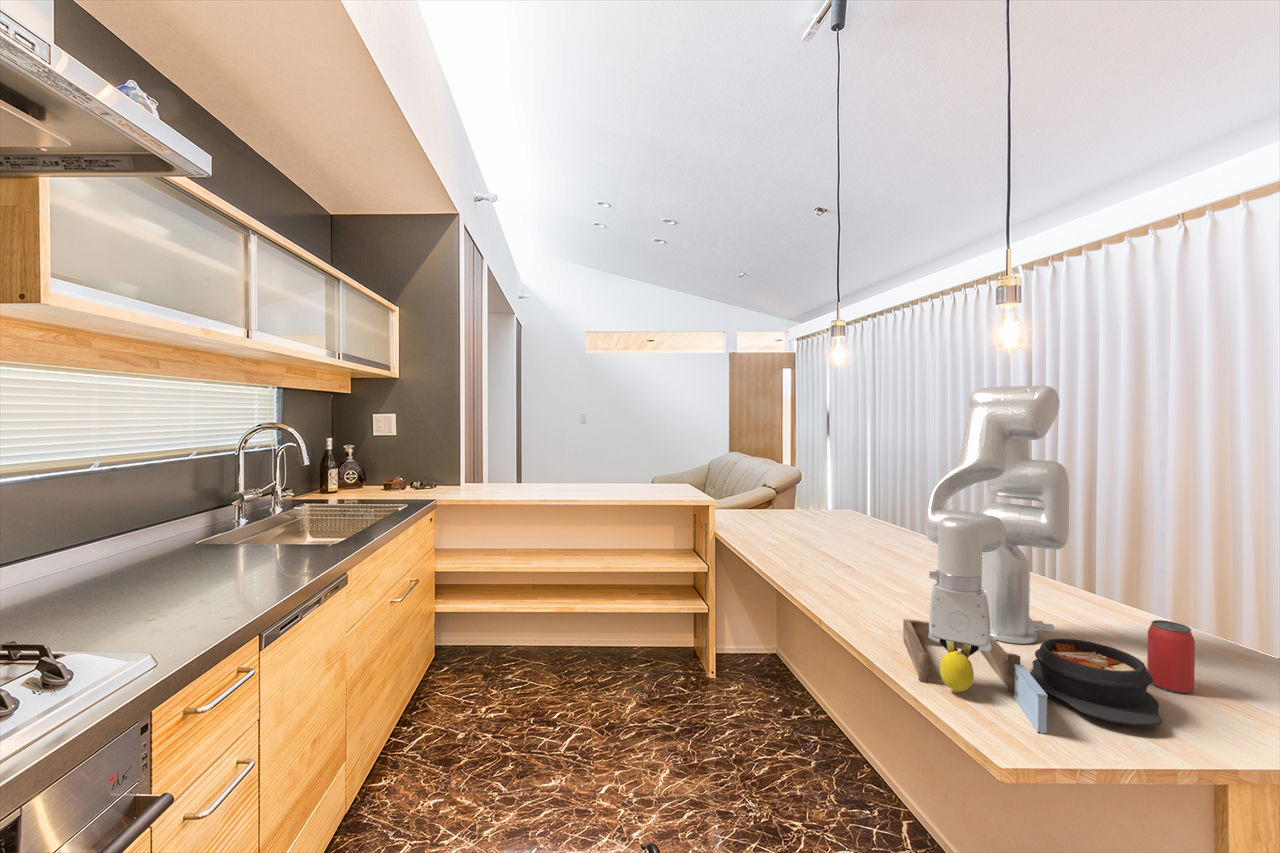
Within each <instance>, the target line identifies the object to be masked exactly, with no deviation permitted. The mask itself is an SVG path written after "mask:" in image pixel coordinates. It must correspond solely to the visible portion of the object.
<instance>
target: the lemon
mask: <svg viewBox="0 0 1280 853" xmlns="http://www.w3.org/2000/svg"><path fill="white" fill-rule="evenodd" d="M960 652H961V651H959V650H958V651H954V652H949V653H948V652H947V653H946V654H944V655H943V656H942V659H941V661H940V665H939V666H940V667H939V673H940V676H941V680H942V681H943V683H944V684H945V685H946V686H947V687H948V688H949V689H950V690H953V692H954V693H959V692H963V691H967V690H969V688H971V687H972V685H973V682H974V677H975V673H974V669H973V665H972V662H971V660H970V659H969V657H968V658H967V657H966V656H965V655H963V654H961V653H960Z"/></svg>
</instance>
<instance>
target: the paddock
mask: <svg viewBox="0 0 1280 853" xmlns="http://www.w3.org/2000/svg"><path fill="white" fill-rule="evenodd" d="M902 622H903V627H902V628H903V632H902V633H903V636H902V637H903V638H902V639H903V640H902V641H903V643H904V646H905V647H906V650H907V653H908V655H909V657H910V659H911V662H912V665H913V667H914V669H915V672H916V675H917V677H918V681H919V682H921V683H926V684H927V683H928V682H929V653H928V652H926V651H925V650H924V647H923V646H922V645H927V646H937V647H943V648H945V647H944V646H943V645H942V644H941V643H939V642H936V641H934V640H932V639H930V638H929V637H928V634H929V620H928V621H927V620H925V621H924V620H919V619H918V620H916V619H907V618H906V619H905V618H903V621H902ZM990 642H991V646H992V647H991V650H990V651H980V653H981V654H982V656H983V657H984V658H985V660H986V661H987V663H988V664H989V665H990V667H991V668H992V669H993V671H994V672H995V673H996V675H997V676H998V678H999V679H1000V680H1001V682H1002V683H1003V684H1004V686H1005V687H1006V688H1007V690H1006V692H1007V693H1008V694H1011V695H1014V696H1015V693H1014V688H1015V677H1014V672H1015V667H1014V664H1018V665H1021V656H1020V655H1018V654H1015V653H1006V651H1005V650H1004V649H1003V648H1002V646H1001V645H1000V644H999V643H998V640H995V639H994V638H993V637H992V635H991V634H990ZM955 644H956V648H957V649H960V650H962V649H963V646H964V644H963V643H958V642H955Z"/></svg>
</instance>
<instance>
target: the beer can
mask: <svg viewBox="0 0 1280 853" xmlns="http://www.w3.org/2000/svg"><path fill="white" fill-rule="evenodd" d="M1195 641H1196V640H1195V638H1194V636H1193V633H1192V628H1190V627H1189V626H1188V625H1185V624H1182V623H1179V622H1174V621H1169V620H1163V619H1159V620H1158V619H1156V620H1154V619H1153V620H1152V621H1151V624H1150V626H1149V628H1148V630H1147V659H1146V660H1147V661H1146V662H1147V667H1146V669H1147V672H1148V673H1149V674H1150V675H1151V676H1152V678H1153V683H1152V684H1151V685H1153V686H1156V687H1157V688H1159V687H1160V688H1159V689H1161V690H1164V689H1166V690H1165V691H1168V690H1169V691H1168V692H1172V691H1173V693H1177V692H1179V693H1178V694H1190V693H1192V692H1193V691H1195V672H1196V671H1195V668H1196V667H1195V664H1196V662H1195V659H1196V658H1195V657H1196V651H1195V650H1196V642H1195Z"/></svg>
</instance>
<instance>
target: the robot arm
mask: <svg viewBox="0 0 1280 853" xmlns="http://www.w3.org/2000/svg"><path fill="white" fill-rule="evenodd" d="M968 404H969V405H968V406H969V410H968V412H967V416H966V422H965V427H964V433H963V439H962V444H961V450H960V457H959V461H958V464H957V465H955V467H953V468H951V469H950V470H949V471H948V472H946V473H945V474H944V475H943V476H942V477H941V478H939V481H937V482H936V484H935V485H934V487H933V488H932V490H931V492H930V494H929V497H928V500H927V501H928V503H927V507H926V512H925V517H924V519H925V520H924V532H925V535H926V537H927V539H928V540H929V541H931V542H932V543H934V544H937V570H935V571H934V570H933V571H929V579H933V580H935V582H936V583H934V584H933V585H932V589H931V594H930V599H929V600H930V603H929V617H928V618H929V619H928V622H929V634H928V637H929V638H930V639H932V640H934V641H936V642H939V643H941V644H942V645H943V646H944V647H943V646H942V647H943V648H944V649H945V650H946V651H947V653H949V652H954V651H959V650H958V649H959V648H956V644H955V642H958V643H963V644H964V646H963V649H960V651H959V652H960V653H961V654H963V655H965V656H966V657H967V658H968V659H969V657H970V656H972V655H973V654H975V653H976V652H979V651H980V652H981V651H990V650H991V647H992V646H991V642H990V634H991V635H992V637H993V638H994V639H995V640H996V641H999V642H1003V643H1008V644H1020V645H1021V644H1022V645H1027V644H1029V645H1030V644H1034V643H1035V642H1037V640H1038V634H1037V633H1038V632H1044V633H1049V634H1050V633H1052V634H1053V633H1055V626H1054V625H1053V624H1052V623H1044V622H1043V621H1042V620H1033V619H1032V618H1031V617H1030V590H1031V589H1030V588H1031V587H1030V586H1031V580H1030V578H1031V575H1030V574H1031V565H1030V562H1029V559H1028V558H1027V556H1026V555H1025V553H1024V552H1023V551H1022V550H1021V548H1020V547H1022V546H1023V547H1031V548H1038V549H1043V550H1055V551H1056V550H1061V549H1063V548H1064V547H1065V546H1066V545H1067V544H1068V540H1069V534H1070V532H1069V531H1070V528H1069V527H1070V510H1069V509H1070V483H1069V481H1070V480H1069V476H1068V475H1069V474H1068V471H1067V469H1066V467H1065V466H1064V465H1063V464H1061V463H1060V462H1057V461H1054V460H1043V459H1031V458H1030V456H1029V453H1030V452H1029V451H1030V450H1029V444H1030V441H1038V440H1041V439H1042V438H1044V437H1045V436H1046V435H1047V434H1048V432H1049V430H1050V429H1051V427H1052V424H1054V423H1055V421H1056V418H1057V416H1058V414H1059V410H1060V396H1059V394H1058V392H1057V390H1056V389H1055V388H1053V387H1051V386H1048V385H1022V386H1021V385H1019V386H1009V385H1008V386H991V387H984V388H979V389H975V390H974V391H972V392H971V393H970V395H969V398H968ZM984 482H985V483H986V488H987V491H988V492H989V493H990V494H991V495H993V496H995V497H999V498H1005V499H1016V500H1025V501H1033V502H1034V501H1035V502H1036V501H1037V502H1040V503H1041V504H1042V506H1035V505H1026V504H1016V503H1006V502H993V503H988V504H986V505H983V506H982V507H981V509H980V510H979V512H971V511H964V510H954V509H946V508H947V505H948V503H949V501H950V500H951V499H952V498H953V496H954V495H955V494H957V493H959V492H960V491H962V490H965V489H966V488H969V487H973V486H976V485H978V484H981V483H984ZM1019 546H1020V547H1019Z"/></svg>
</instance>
